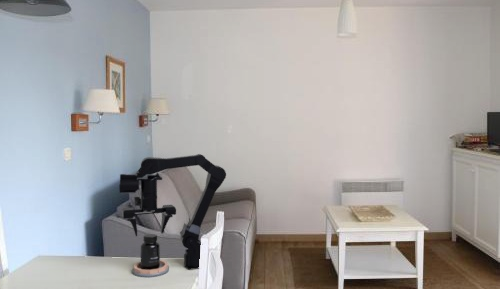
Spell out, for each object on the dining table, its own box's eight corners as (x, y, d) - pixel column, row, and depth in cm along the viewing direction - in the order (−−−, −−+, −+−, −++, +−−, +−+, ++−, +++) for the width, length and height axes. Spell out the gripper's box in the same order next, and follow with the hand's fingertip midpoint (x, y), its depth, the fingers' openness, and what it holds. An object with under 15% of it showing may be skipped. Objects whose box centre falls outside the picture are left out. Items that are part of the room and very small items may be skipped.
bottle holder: (165, 263, 165) (165, 257, 165) (172, 274, 153) (172, 268, 153) (130, 267, 160) (130, 261, 160) (135, 279, 148) (134, 273, 148)
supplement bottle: (155, 272, 153) (154, 238, 152) (137, 270, 154) (136, 237, 153) (163, 265, 159) (162, 233, 159) (146, 264, 161) (145, 232, 160)
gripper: (169, 187, 167) (169, 227, 168) (119, 190, 160) (120, 231, 161) (176, 192, 157) (176, 234, 158) (123, 195, 150) (123, 239, 150)
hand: (149, 234), depth 157 cm, fingers open, 9 cm apart
